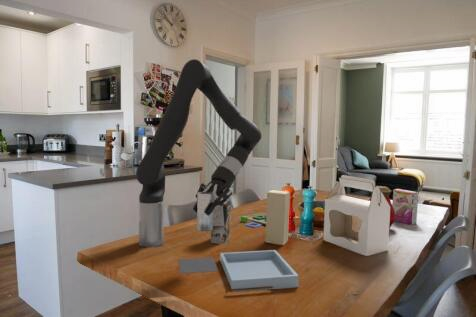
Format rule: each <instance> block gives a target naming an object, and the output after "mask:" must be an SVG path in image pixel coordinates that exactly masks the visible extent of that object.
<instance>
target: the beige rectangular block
mask: <svg viewBox="0 0 476 317" xmlns="http://www.w3.org/2000/svg"><path fill="white" fill-rule="evenodd" d="M290 197H291V192H290V191H287V190H276V189H272V190H268V191H267V193H266V225H265V243H268V244H273V245H279V246H284V245H285V244H286V243H287V242H289V224H290V223H289V215H290V200H291V198H290Z"/></svg>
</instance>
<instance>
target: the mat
mask: <svg viewBox="0 0 476 317" xmlns="http://www.w3.org/2000/svg"><path fill="white" fill-rule="evenodd" d="M178 266H179V274H180V275H182V274H196V273H209V272H211V273H213V272H218V271H219V269H218V267H217V264H216V262H215V258H214V257H213V256H212V257H197V258H196V257H195V258H194V257H193V258H180V259H179V258H178Z"/></svg>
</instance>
